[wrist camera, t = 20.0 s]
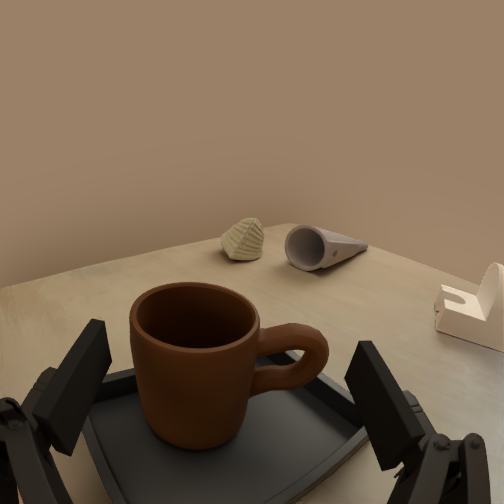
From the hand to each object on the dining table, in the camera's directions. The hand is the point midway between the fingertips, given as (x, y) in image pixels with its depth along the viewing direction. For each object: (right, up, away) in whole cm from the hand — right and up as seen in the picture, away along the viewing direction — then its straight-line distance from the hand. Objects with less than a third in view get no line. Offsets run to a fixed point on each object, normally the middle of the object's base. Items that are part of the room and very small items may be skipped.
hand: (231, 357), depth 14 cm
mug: (-1, -7, +5) cm, 9 cm away
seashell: (-1, +5, +40) cm, 41 cm away
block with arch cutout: (+37, -7, +20) cm, 43 cm away
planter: (+18, +4, +46) cm, 50 cm away
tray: (-1, -8, +4) cm, 9 cm away
